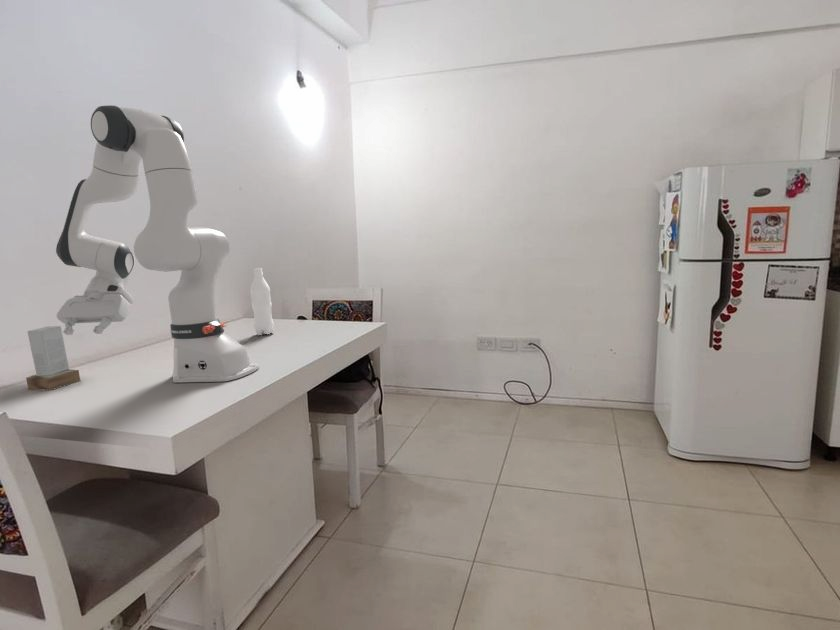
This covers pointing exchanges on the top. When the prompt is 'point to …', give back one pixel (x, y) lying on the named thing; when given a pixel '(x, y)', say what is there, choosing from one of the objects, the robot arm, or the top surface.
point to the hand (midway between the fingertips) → (82, 333)
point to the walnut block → (53, 380)
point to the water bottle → (261, 304)
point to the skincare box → (48, 350)
